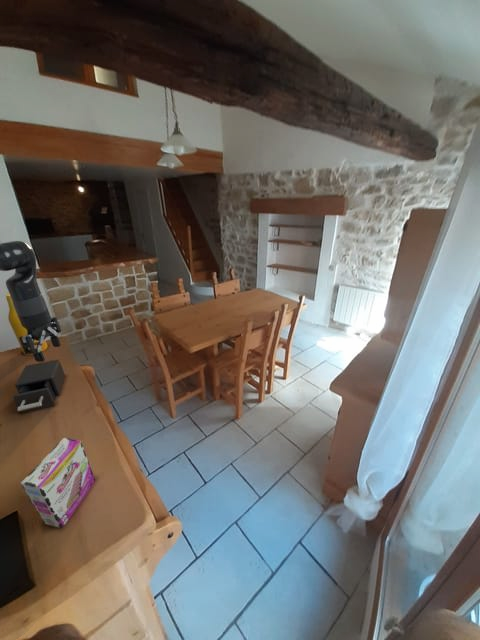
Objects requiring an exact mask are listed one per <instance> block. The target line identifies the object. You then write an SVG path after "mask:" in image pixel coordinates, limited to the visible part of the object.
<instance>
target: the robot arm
mask: <svg viewBox="0 0 480 640" xmlns="http://www.w3.org/2000/svg"><path fill="white" fill-rule="evenodd" d="M33 250H34V249H32V248H31V246H30V245H29V244H27V243H26V242H24V241H22V240H11V241H6V242H0V272H9V271H12V270H13V271H14V270H15V272H14V274H13V275H12V276H10V277H8V278H7V279H6V280H5V287H6V289H7V291H8V294H10V296H11V298H12V301H13V305H14V308H15V311H16V313H17V315H18V318H19V320H20V322H21V325H22V326H23V327H24V328H26V329H27V335H25V336H20V338H19V339H20V342H21V344H22V347H23V350H24V352H25V354H33V355H32V356H33V359H34V361H36V362H38V363H42V362H45V361H46V358H45V356H44V354H43V351H41V345H43V341H44V340H45V341H46V339H47V338H48V337H49V338H50V342H51V345H52V346H53V347H54V348H59V347H61V340H60V338H59V336H60V333H62V328H61V326H60V324H59V323H60V322H59V321H58V318H57V317H56V316H51V312H50V310H49V308H48V305H47V303H46V300H45V298H44V296H43V294H42V291H41V289H40V286H39V284H38V280H37V279H38V278H37V277H38V275H37V258H36V255H35V252H34V251H33ZM34 340H36V341H39V342H34ZM35 345H37V348H36V349H35ZM28 348H30V350H29V349H28ZM25 354H24V355H25Z"/></svg>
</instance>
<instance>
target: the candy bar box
mask: <svg viewBox="0 0 480 640" xmlns="http://www.w3.org/2000/svg"><path fill="white" fill-rule="evenodd" d="M88 459H89V458H88V457H87V454H86V451H85V449H84V446H83V444H82V441H81V440H78V439H72V438H68V437H63V438H62V439H61V440H60V441H59V442H58V443H57V444H56V445H55V446H54V447H53V449H51V450H50V451H49V453H48V454H47V455H46V456H45V457H43V459H42V460H41V461H40V462H39V463H38V464H37V465H36V466H35V467H34V468H33V469H32V471H31V472H30V473H29V474H28V475H27V476H26V477H25V478H24V479H23V480H22V481H21V482H20V485H21V487H22V488H23V490H24V491H25V493H26V495H27V497H28V498H29V500H30V501H31V503H32V505H33V506H34V508H35V509H36V511H37V513H38V514H39V516H40V518H41V519H42V521H43V522H44V524H45V525H48V526H52V527H55V528H60V529H63V528H64V527H65V525H66V524H67V522H68V521H69V520H70V518H71V516H72V515H73V514H74V512H75V511H76V510H77V508H78V506H79V505H80V504H81V502H82V501H83V499H84V498H85V497H86V494H87V493H88V492H89V491H90V489H91V487H92V486H93V484H94V483H95V481H96V478H95V475H94V473H93V470H92V467H91V464H90V463H89V460H88Z"/></svg>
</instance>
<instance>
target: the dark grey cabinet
mask: <svg viewBox="0 0 480 640" xmlns="http://www.w3.org/2000/svg"><path fill="white" fill-rule="evenodd" d="M65 379H66V374H65V372H64V369H63V367H62V364H61V361H60V359H53V360H49V361H43V362H38V363H33V364H27V365H25V366H24V368H23V370H22V371H21V373H20V376H19V377H18V378H17V380H16V383H15V385H14V386H15V388H16V390H17V392H18V393H19V390H20V388H21V386H23V385H28V384H32V383H37V382H42V381H47V380H51V383H52V385H53V388H54V390H55V392H56V396H57V397H60V396H61V392H62V389H63V385H64V384H65V383H64V382H65Z"/></svg>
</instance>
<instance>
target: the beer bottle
mask: <svg viewBox="0 0 480 640" xmlns="http://www.w3.org/2000/svg"><path fill="white" fill-rule="evenodd" d="M5 298H6V301H7V305H8V309H9V311H8V315H7V316H8V317H7V318H8V322H9V325H10V326H11V329H12V331H13V334H14V335H15V338H16V339H17V342H18V344H19V346H20V349H21V352H22V353H23V354H24V355H26V356H33V354H25V352H24V350H23V347H22V344H21V342H20V339H19V338H20V336H25V335H27V329H26V328H24V327H23V326H22V325H21V322H20V320H19V318H18V315H17V313H16V311H15V308H14V305H13V301H12V298H11V296H10V294H9V293H6V294H5ZM34 342H39V341H36V340H34ZM36 348H37V345H35V349H36ZM28 349H29V350H30V348H28ZM47 349H48V343H47V341H46V339H45V340H44V341H43V345H41V351H42V352H44V351H45V350H47Z"/></svg>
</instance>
